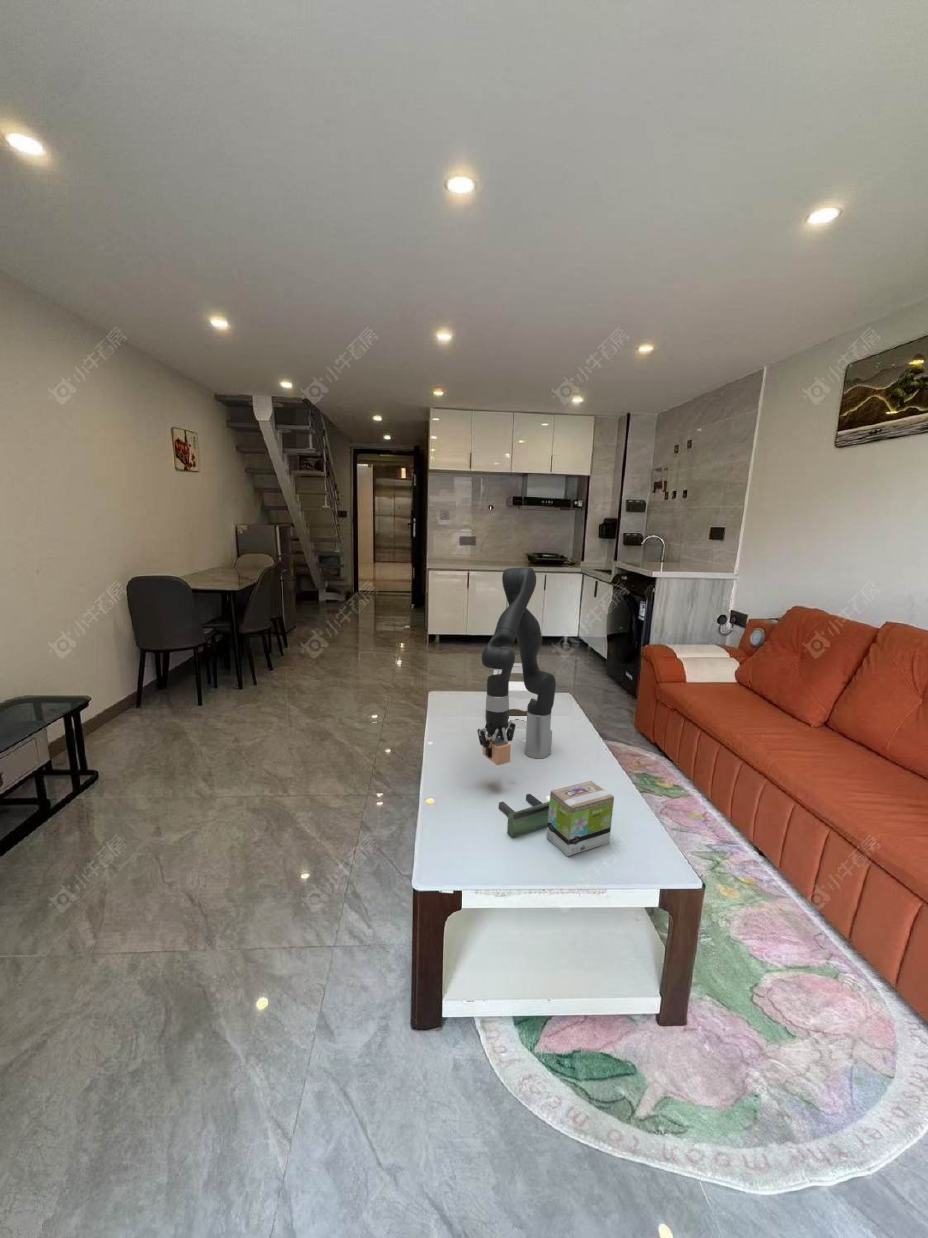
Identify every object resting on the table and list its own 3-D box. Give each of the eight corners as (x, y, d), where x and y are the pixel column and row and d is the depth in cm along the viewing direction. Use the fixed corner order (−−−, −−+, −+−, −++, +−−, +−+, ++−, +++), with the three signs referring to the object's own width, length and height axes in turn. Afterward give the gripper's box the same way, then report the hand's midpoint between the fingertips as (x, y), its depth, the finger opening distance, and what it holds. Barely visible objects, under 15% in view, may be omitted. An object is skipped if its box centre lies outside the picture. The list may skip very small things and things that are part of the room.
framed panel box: (494, 751, 171) (495, 733, 170) (510, 762, 163) (510, 743, 162) (482, 754, 168) (482, 736, 167) (497, 765, 161) (497, 746, 159)
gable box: (492, 728, 219) (494, 666, 214) (490, 716, 232) (492, 658, 227) (542, 729, 220) (545, 667, 215) (537, 717, 233) (540, 659, 228)
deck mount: (541, 795, 164) (543, 775, 163) (573, 819, 151) (574, 797, 150) (485, 812, 153) (485, 790, 152) (513, 839, 140) (514, 816, 139)
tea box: (568, 858, 133) (572, 807, 130) (545, 838, 142) (548, 789, 139) (610, 843, 140) (615, 795, 137) (586, 824, 149) (590, 778, 146)
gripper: (508, 699, 169) (507, 746, 172) (472, 707, 162) (471, 755, 165) (521, 706, 163) (520, 755, 166) (484, 714, 156) (484, 765, 159)
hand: (496, 755), depth 165 cm, fingers closed on framed panel box, 5 cm apart
